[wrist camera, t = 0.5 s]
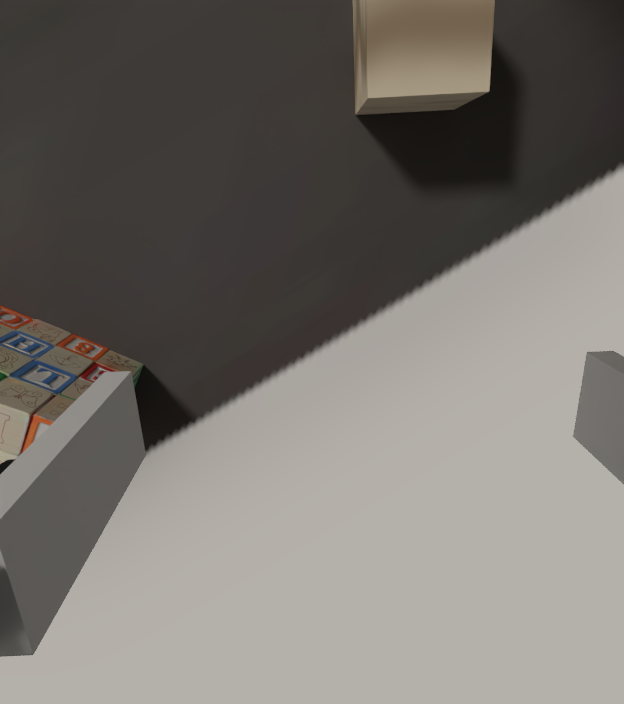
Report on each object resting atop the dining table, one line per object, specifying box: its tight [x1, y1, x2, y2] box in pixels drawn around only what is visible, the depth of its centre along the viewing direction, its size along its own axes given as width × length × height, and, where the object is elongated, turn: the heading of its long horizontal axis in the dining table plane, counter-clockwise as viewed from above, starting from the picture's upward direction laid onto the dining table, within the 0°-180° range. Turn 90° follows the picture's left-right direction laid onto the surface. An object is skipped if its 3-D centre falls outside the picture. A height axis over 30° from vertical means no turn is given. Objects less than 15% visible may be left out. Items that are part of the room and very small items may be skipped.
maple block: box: [353, 0, 495, 115], centre depth 30 cm, size 7×7×7 cm
